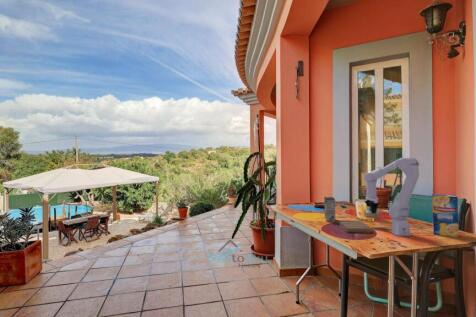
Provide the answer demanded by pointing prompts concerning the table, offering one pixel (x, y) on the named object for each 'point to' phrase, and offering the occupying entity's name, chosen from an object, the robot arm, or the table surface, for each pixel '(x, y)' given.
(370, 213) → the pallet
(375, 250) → the table surface
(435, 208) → the blue cereal box
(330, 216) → the coffee box
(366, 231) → the dock
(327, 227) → the table surface
